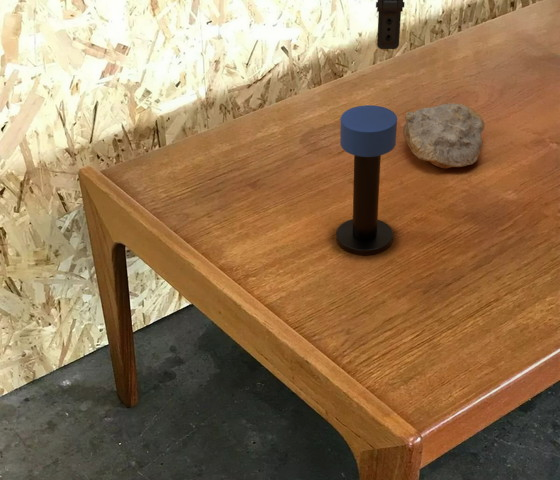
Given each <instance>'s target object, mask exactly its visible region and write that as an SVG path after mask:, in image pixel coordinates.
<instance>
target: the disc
mask: <svg viewBox="0 0 560 480" xmlns="http://www.w3.org/2000/svg"><path fill="white" fill-rule="evenodd" d="M397 127H398V116H397V114H396V113H395V112H394V111H393V110H391V109H390V108H387V107H384V106H381V105H373V104H372V105H370V104H369V105H365V104H364V105H358V106H353V107H350V108H349V109H346V110H345V111H344V112H343V113H341V116H340V129H339V130H340V131H339V132H340V135H339V136H340V137H339V138H340V140H339V143H340V147H341V148H342V150H343V151H344V152H346V153H347V154H349V155H352V156H354V155H356V156H361V157H375V156H380V155H381V156H383V155H386V154H389V153H390V152H391V151H393V150H394V149H395V147H396V143H397V129H398V128H397Z"/></svg>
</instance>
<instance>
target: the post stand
mask: <svg viewBox="0 0 560 480" xmlns="http://www.w3.org/2000/svg"><path fill="white" fill-rule="evenodd" d="M381 156H382V155H380V156H375V157H361V156H356V155H353V190H352V191H353V193H352V219H348V220H346V221H345V222H342V223H341V224H340V225H339V226H338V227H337V230H336V232H335V233H336V234H335V239H336V243H337V245H338V246H339V247H340V249H342V250H343V251H344V252H346V253H347V252H348V253H349V254H353V255H357V256H372V255H373V256H374V255H376V254H380V253H383V252H384V251H386V250H388V249H389V248H390V247H391V246H392V243H393V241H394V232H393V229H392V227H391V226H390V225H389V224H388V223H387V222H385V221H383V220H381V219H379V218H378V217H379V216H378V215H379V199H380V198H379V197H380V178H381V177H380V176H381V159H382V158H381Z"/></svg>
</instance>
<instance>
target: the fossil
mask: <svg viewBox="0 0 560 480" xmlns="http://www.w3.org/2000/svg"><path fill="white" fill-rule="evenodd" d="M404 119H405V122H406V123H405V124H404V125H403V127H402V136H403V139H404V141H405V143H406V144H407V146H408V148H409V149H410V150H411V153H412V154H413V155H414V156H415V157H416V158H417V159H418V160H421V161H424V162H429V163H431V164H432V165H433V166H435V167H438V168H441V169H450V168H462V167H466V166H470V165H473V164H474V163H476V162H477V160H478V158H479V156H480V155H481V154H480V153H481V150H482V148H483V138H482V133H483V132H484V130H485V122H484V120H483V118H482V116H481V114H480V113H479V112H478V111H476V110H475V109H472V108H471V107H469V105H467V104H466V105H465V104H462V103H452V102H445V103H442V104H439V105H435V106H430V107H422V108H419V109H416V110H415V111H413V112H412V111H407V112H406V116H405V117H404Z"/></svg>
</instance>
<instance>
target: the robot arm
mask: <svg viewBox="0 0 560 480" xmlns="http://www.w3.org/2000/svg"><path fill="white" fill-rule="evenodd" d="M405 5H406V3H405V1H404V0H377V1H375V9H376V12H377V13H378V15H377V16H378V17H377V39H376V40H377V41H376V46H377V48H378V49H379V50H397V49H398V48H399V46H400V38H401V37H400V36H401V19H402V18H401V17H402V12H403V9H404V8H405Z"/></svg>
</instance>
